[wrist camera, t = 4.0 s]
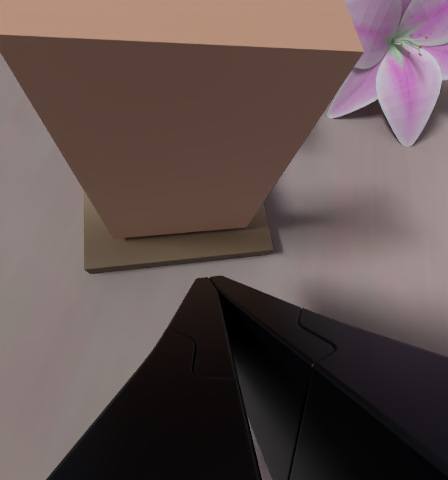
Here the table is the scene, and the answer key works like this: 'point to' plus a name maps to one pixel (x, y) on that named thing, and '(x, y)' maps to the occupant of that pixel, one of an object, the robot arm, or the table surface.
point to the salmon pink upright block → (178, 98)
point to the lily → (397, 62)
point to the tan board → (170, 244)
